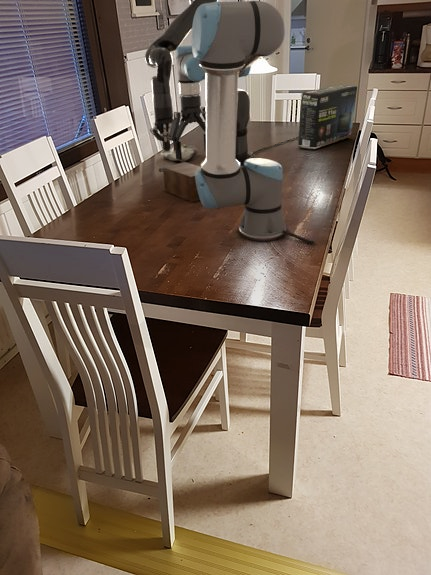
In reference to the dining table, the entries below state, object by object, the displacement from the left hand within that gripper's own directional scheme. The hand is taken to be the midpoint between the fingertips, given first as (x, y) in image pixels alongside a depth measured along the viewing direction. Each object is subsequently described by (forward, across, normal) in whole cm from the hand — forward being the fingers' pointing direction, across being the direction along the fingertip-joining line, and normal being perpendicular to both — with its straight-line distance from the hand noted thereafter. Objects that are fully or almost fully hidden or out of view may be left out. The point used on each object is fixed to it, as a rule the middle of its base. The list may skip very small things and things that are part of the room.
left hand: (166, 150), depth 186 cm
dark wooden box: (+15, 0, +14) cm, 20 cm away
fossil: (+15, -28, -32) cm, 45 cm away
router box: (+15, -99, +3) cm, 100 cm away
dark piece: (+14, 0, +8) cm, 16 cm away
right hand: (-1, 0, +18) cm, 18 cm away
